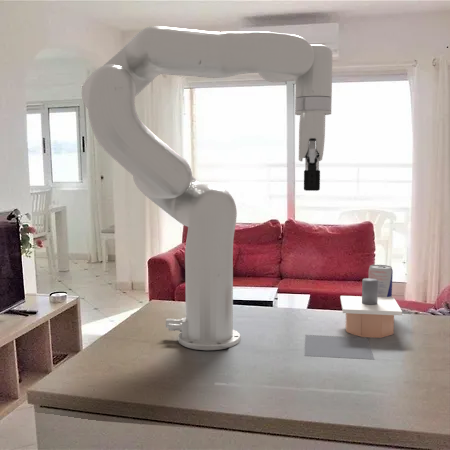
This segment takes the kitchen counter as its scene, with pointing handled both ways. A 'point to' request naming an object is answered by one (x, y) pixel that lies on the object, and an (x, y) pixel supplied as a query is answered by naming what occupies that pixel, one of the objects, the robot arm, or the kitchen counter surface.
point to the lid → (370, 301)
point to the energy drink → (382, 279)
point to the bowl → (369, 325)
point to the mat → (338, 347)
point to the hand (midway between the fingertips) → (311, 189)
